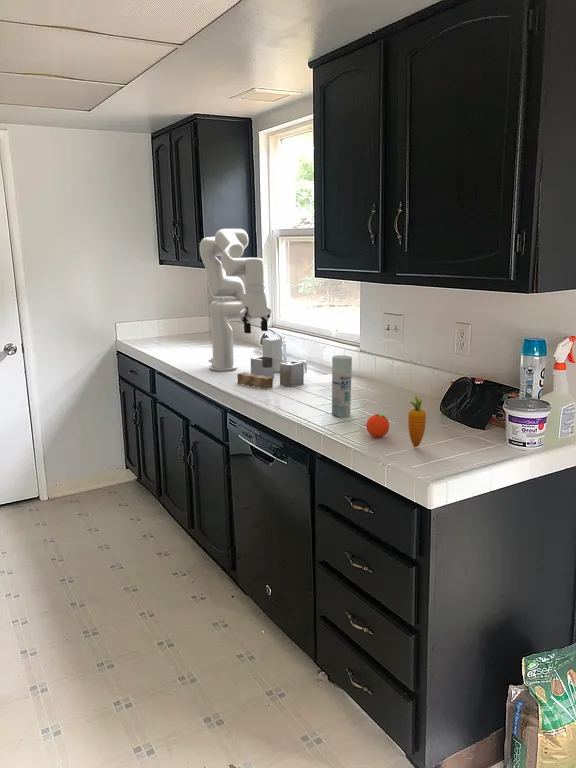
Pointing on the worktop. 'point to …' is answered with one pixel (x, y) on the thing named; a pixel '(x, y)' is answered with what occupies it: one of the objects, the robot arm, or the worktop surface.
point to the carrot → (416, 422)
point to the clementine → (377, 425)
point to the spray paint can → (341, 385)
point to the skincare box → (273, 351)
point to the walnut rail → (255, 380)
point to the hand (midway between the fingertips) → (256, 332)
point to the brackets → (288, 372)
